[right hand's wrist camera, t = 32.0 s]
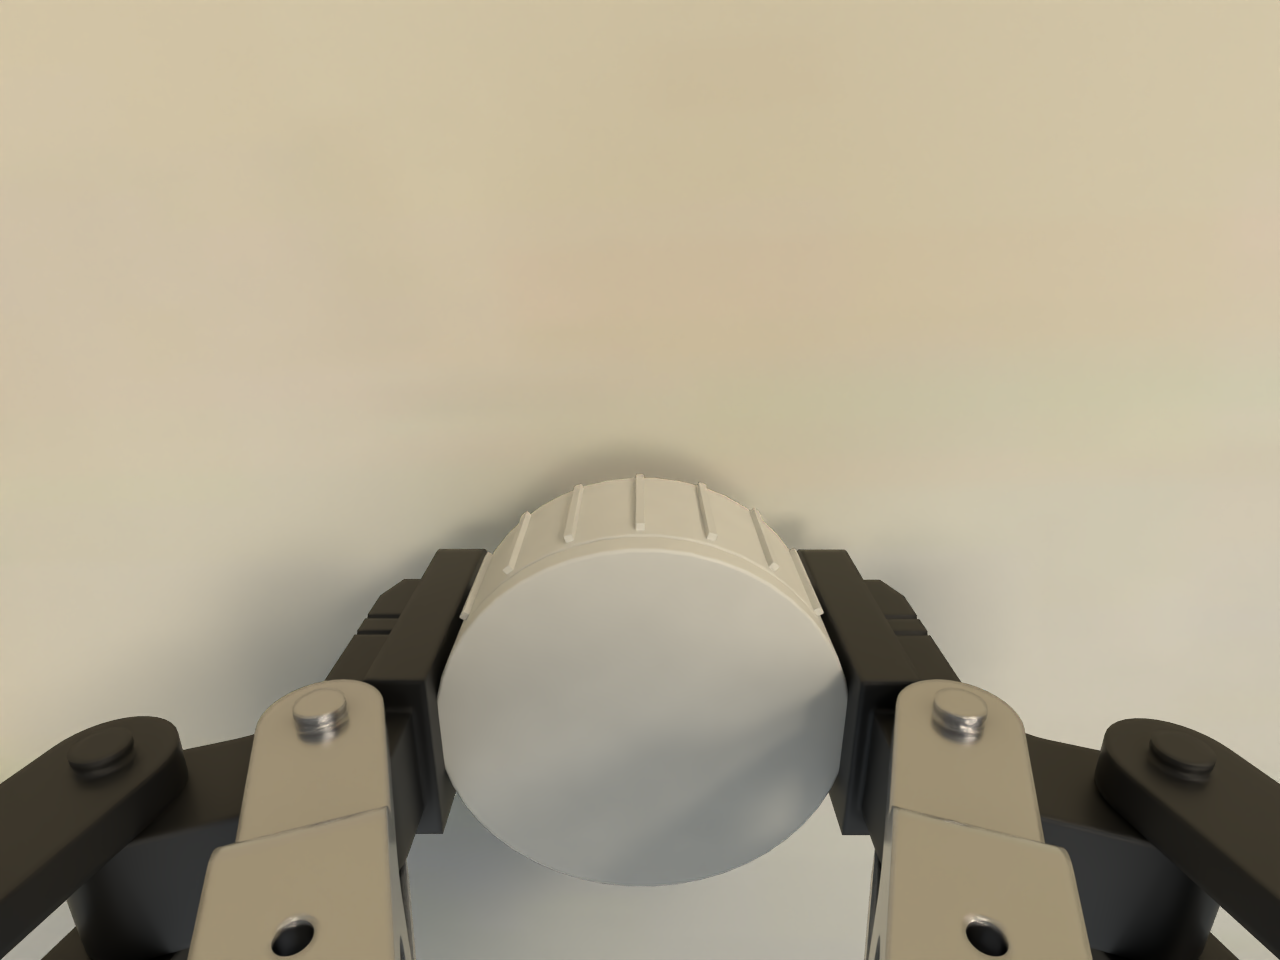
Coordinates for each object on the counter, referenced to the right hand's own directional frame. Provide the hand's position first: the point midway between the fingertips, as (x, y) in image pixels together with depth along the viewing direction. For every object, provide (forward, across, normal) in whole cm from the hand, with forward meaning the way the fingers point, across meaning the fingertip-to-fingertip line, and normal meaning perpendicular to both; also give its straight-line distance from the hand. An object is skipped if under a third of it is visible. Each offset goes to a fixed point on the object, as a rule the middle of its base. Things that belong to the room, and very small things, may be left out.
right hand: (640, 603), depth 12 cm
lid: (-3, 0, 0) cm, 3 cm away
